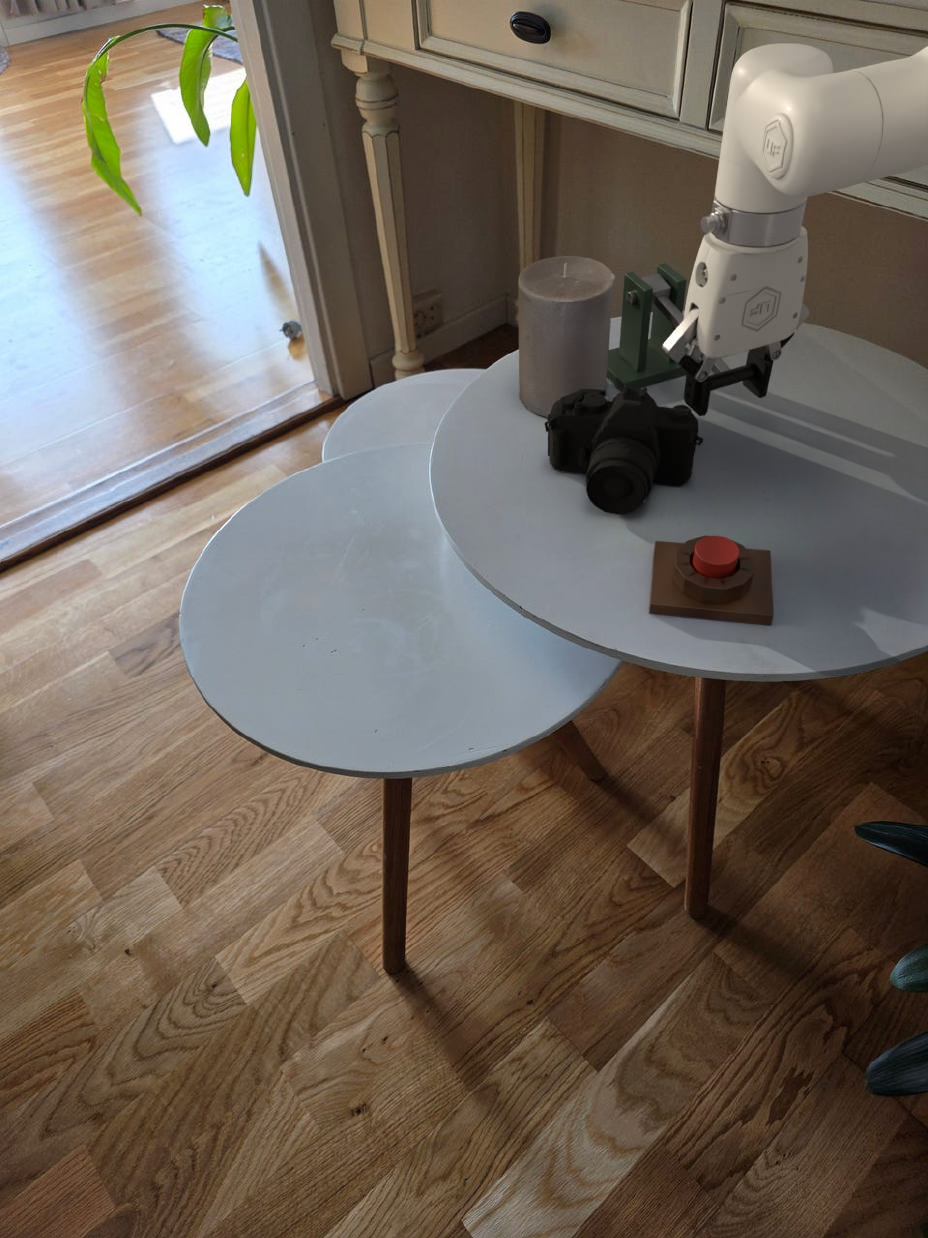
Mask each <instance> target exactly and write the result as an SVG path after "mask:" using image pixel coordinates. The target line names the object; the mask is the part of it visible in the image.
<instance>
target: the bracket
mask: <svg viewBox="0 0 928 1238" xmlns="http://www.w3.org/2000/svg"><path fill="white" fill-rule="evenodd" d="M656 274H659V275H660V276H661V277H662V278H663V279H664V280H665V281H666V282H667V284H668V285H669V286H670V287H671V291H670V295H669V300H670V301H671V302H672V303H673V304H674V305H675V306H676V307H677V309H678V310H679V311H680V312H681V313H682V314H684V304H685V298H686V297H685V296H686V290H687V289H686V288H687V278H685V277H684V276H683V275H682V274H681V273H679V272H678V271H676V270H675V269H674V268H672V266H670V265H669V264H667V263H666V262H664V263H661V264H657V266H656ZM623 278H624V279H623V293H622V305H621V306H622V307H621V319H620V320H621V321H620V333H619V347H615V348H612V349H609V352H608V366H607V379H609V381H611V383H613V385H614V386H615V387H616V388H617V389H618V390H619V391H620V393H621V392H622V391H623V389H624V386H625V385H628V387H631V388H640V389H642V388H643V387H648V386H650V385H651V386H652V385H655V384H657V383H661V382H664V381H668V380H672V379H675V378H678V377H682V376H687V371H685V370H684V369H683V368H682V367H681V366H680V365H678V364H677V363H676V362H675V361H674V360H672V359H671V358H670V357H669V356H668V355H667V354H665V353H664V352H663V351H662V345H663V344H664V342H665V341H666V340H667V339H668V338H669V337H670V335H671V334H672V333H673V332H674V331H675V327H674V326H673V325H672V324H671V323H670V322H669V320H668V319H667V318H666V317H665V316H664V315H663V313H662V312H661V311H660V310H659V309H658V310H654V311H651V305H652V295H653V288H652V287H651V286H649V285H648V284H647V283H646V282H645V281H643V280H642V279H641V278H642V277H640V276H639V275H637V274H636V273H635V272H634V271H630V272H629V271H628V272H626V273H624V277H623ZM651 314H652V316H651ZM650 325H651V327H650ZM649 333H650V337H649ZM688 350H689V348H688V347H687V346H685V348H684V351H685V352H686V353H687V352H688ZM701 360H702V359H701V358H699V359H698V361H697V363H698V364H700V362H701Z"/></svg>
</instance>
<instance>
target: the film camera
mask: <svg viewBox="0 0 928 1238" xmlns="http://www.w3.org/2000/svg"><path fill="white" fill-rule="evenodd" d="M648 390H649V389H648V386H644V387H642V388H631V387H628V385H625V386H624V389H623V391H622V392H621V391H620V392H619V393H618V394H617V395H615V396H613V398H612V400H608V399H607V398H606V396H607V393H605V391H604V390H599V389H580V390H578V391H576V392H574V393H572V394H569V395H566V396H564V397H562V398H561V399H560V400H558V401H556V402H555V403H554V405H553V406H552V409H551V413H550V414H549V415H548V417H547V420H546V421H545V422H544V428H545V432H546V433H547V456H548V458H549V459H548V460H549V464H550V466H551V468H552V469H553V470H555V471H556V472H562V473H569V474H577V475H585V491H586V495H587V498H588V500H589V502H590V503H591V504H592V505H593V506H595V507H596V508H598V509H599V510H601V511H603V512H604V513H607V514H612V515H617V516H619V515H620V516H621V515H628V514H631V513H634V512H636V511H637V510H638V509H640V508H641V507H642V506H643V505H644V503H645V501H646V500H647V499H648V497H649V496H650V494H651V492H652V488H653V485H654V484H655V485H660V486H661V485H663V486H668V487H669V486H670V487H682V486H684V485H685V484H687V483H688V482H689V481H690V479H691V478H692V474H693V468H694V459H695V455H696V448H697V446H701V445H702V444H703V443H704V442H705V441H704V438H703V437H701V436H699V431H700V429H699V420H698V418H697V417H696V416H695V414H694V413H693V410H692V409H691V408H690V407H689V406H688V405H685V404H678V405H674V406H673V407H672V408H670V407H666V406H658V404H657V402H656V401H655V399H654V398H653V397H651V395H650V394H649V393H648ZM604 396H605V397H604Z"/></svg>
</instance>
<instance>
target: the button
mask: <svg viewBox="0 0 928 1238" xmlns="http://www.w3.org/2000/svg"><path fill="white" fill-rule="evenodd" d="M706 536H707V537H704V538H702V539H700V540H699V541H698V542H697V544H696V546H695V551H694V556H693V567H694V569H695V570H696V571H697V572H698V573H699V574H701V575H703V576H705V577H707V578H714V579H723V578H727V577H729V576H730V575H732V574H733V573H734V571H735V569H736V565H737V561H738V557H739V549H738V546H737V545H736V544H735V543H734V542H733V541H734V540H733V539H731V538H728V537H726V536H721V535H706ZM732 540H733V541H732Z"/></svg>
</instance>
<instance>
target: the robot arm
mask: <svg viewBox="0 0 928 1238" xmlns="http://www.w3.org/2000/svg"><path fill="white" fill-rule="evenodd" d="M724 116H725V117H724V123H723V131H722V137H721V146H720V153H719V159H718V167H717V173H716V174H717V175H716V182H715V189H714V195H713V196H714V197H713V201H712V206H711V207H712V208H711V213H709V214H708V215H706V216H703V217H702V218H701V220H700V230H701V232H702V233H703V234H704V235H703V237H702V240H701V243H700V246H699V248H698V252H697V255H696V258H695V261H694V265H693V269H692V273H691V277H690V282H689V285H688V290H687V294H686V299H685V306H684V311H683V315H684V320H683V321H682V322H681V324H680V325H679V326H678V327H677V328H676V329H675V331H674V332H673V333H672V334H671V335H670V337H669V338H668V339H667V340H666V341H665V342H664V344H663V345H662V351H663V352H664V353H665V354H667V355H668V356H669V357H670V358H671V359H672V360H674V361H675V362H676V363H677V364H678V365H680V366H681V367H682V368H683V369H684V370H685V371H687V374H686V375H685V376H686V377H685V384H684V390H683V400H684V403H685V404H686V406H687V407H689V408H690V409H691V410H692V411H693V412H695V413H696V415H697V416H699V417H704V416H706V415H707V414H708V411H709V405H710V400H711V399H710V398H711V386H712V380H711V379H710V378H709V377H708V376H710V373H711V372H712V370H711V369H712V367H713V365H714V363H715V361H716V359H718V358H721V359H723V358H726V357H727V358H728V357H730V356H734V355H737V354H741V353H744V352H747V358H746V362H745V365H748V364H751V363H754V364H756V365H757V367H758V376H757V377H756V378H752V379H749V380H745V381H742V386H744V387H745V388H746V389H747V390H748V391H749V392H751V393H752V394H753V395H754V396H755V397H757V398H758V399H763V398H765V397H767V395H768V394H767V393H768V389H769V385H770V379H771V375H772V371H773V366H774V361H778V359H779V358H781V356H782V353H783V351H782V349H783V348H784V347H785V346H786V345H787V344H788V342H789V341H790V340H791V339H792V338H793V337H794V336H795V331H796V330H798V329H799V328H800V327H801V326H802V324H803V323H805V321H806V320H808V318H809V317H810V315H811V310H810V309H809V308H808V307H807V306H806V304H805V303H804V302H803V301H804V297H805V296H804V295H805V288H806V280H807V274H808V273H807V272H808V259H809V241H808V239H809V238H808V230H807V229H806V228H805V227H804V226H803V220H804V215H805V211H806V206H807V202H808V197H813V196H818V195H822V194H827V193H830V192H834V191H838V190H842V189H847V188H850V187H852V186H856V185H860V184H864V183H869V182H871V181H876V180H880V179H884V178H888V177H892V176H895V175H900V174H905V173H908V172H912V171H915V170H918V169H920V168H923V167H925V166H928V45H927V46H925V47H924V48H923V49H921V50H919V51H918V52H916V53H915V54H913V55H911V56H908V57H904V58H899V59H894V60H888V61H883V62H879V63H875V64H871V65H867V66H862V67H858V68H852V69H848V70H844V71H840V72H834V66H833V61H832V59H831V56H829V55H828V53H827V52H825V51H824V50H822V49H820V48H818V47H815V46H812V45H808V44H804V43H803V44H802V43H793V42H792V43H791V42H790V43H787V42H784V43H783V42H782V43H771V44H765V45H764V44H763V45H759V46H757V47H754V48H751V49H749V50H747V51H746V52H745V53H743V54H742V55H740V57H739V59H738V60H737V61H736V62H735V64H734V66H733V68H732V71H731V75H730V80H729V85H728V94H727V103H726V108H725V114H724ZM690 340H693V342H692V344H691V346H690V345H689V344H688V342H689V341H690ZM687 345H689V348H688V352H687V353H686V352H685V351H684V348H685V347H687ZM701 353H703V354H704V356H703V358H702V359H700V355H701ZM698 359H700V360H701V362H700V364H698V363H697V361H698Z"/></svg>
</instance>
